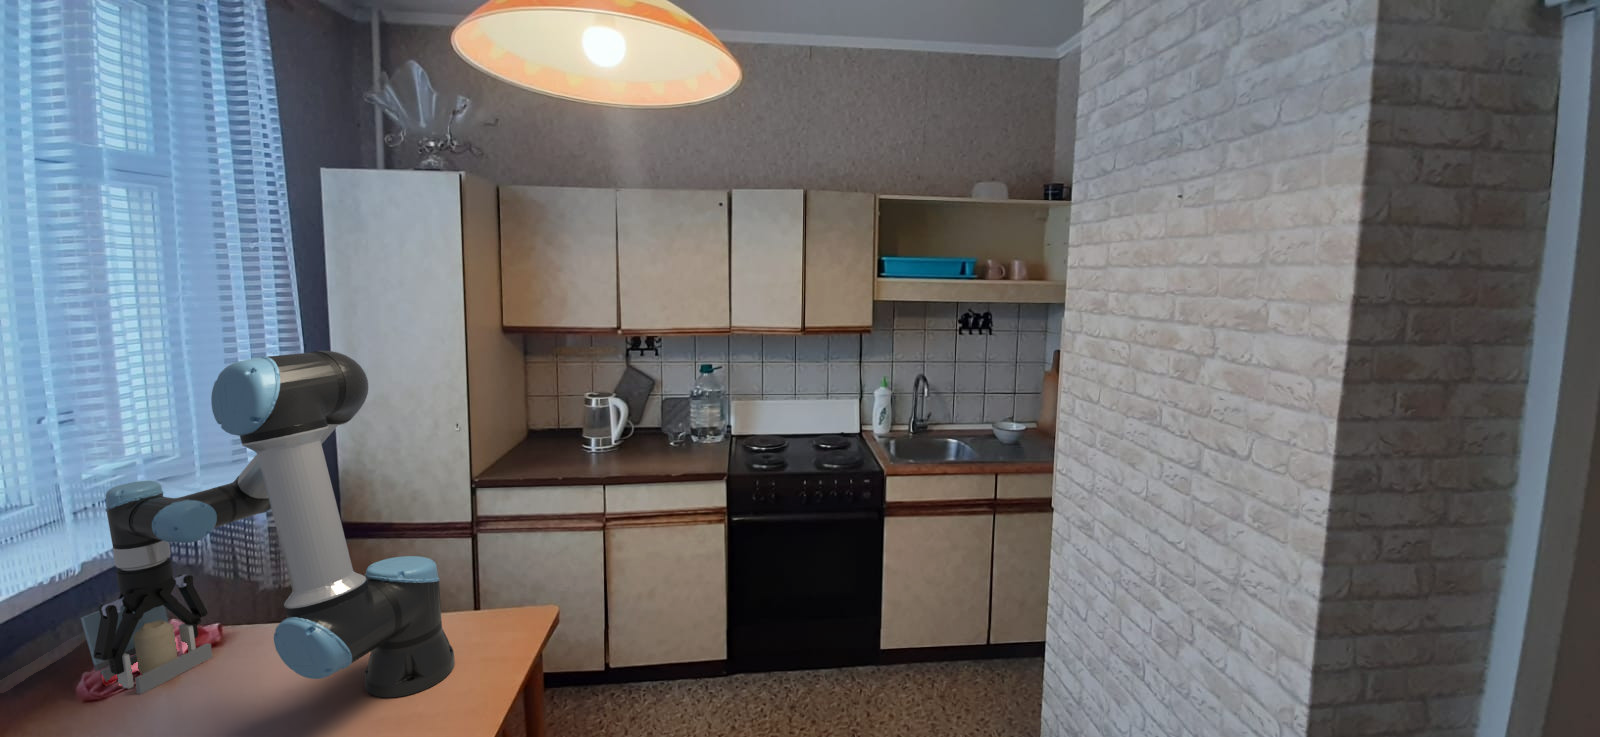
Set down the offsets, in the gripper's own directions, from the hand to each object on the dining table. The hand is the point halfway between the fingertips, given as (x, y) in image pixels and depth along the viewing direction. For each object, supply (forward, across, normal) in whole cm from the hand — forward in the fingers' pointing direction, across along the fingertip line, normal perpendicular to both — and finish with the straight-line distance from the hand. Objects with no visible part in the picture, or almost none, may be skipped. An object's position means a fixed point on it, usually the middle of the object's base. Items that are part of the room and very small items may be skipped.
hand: (159, 670), depth 128 cm
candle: (0, 0, 0) cm, 0 cm away
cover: (-8, 0, -6) cm, 10 cm away
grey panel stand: (0, 0, 0) cm, 0 cm away
